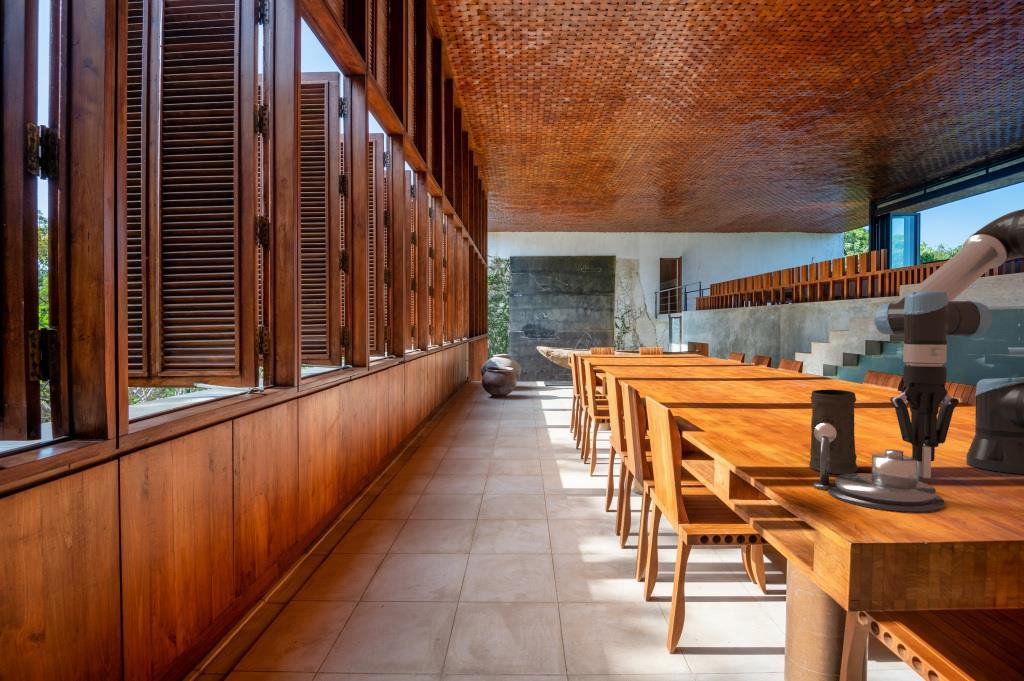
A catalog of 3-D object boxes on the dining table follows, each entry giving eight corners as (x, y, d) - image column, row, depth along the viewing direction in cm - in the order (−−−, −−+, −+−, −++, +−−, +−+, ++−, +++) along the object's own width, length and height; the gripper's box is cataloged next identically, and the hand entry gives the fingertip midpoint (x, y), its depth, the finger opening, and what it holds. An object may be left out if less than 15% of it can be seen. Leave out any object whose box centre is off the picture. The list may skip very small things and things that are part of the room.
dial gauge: (815, 484, 138) (816, 420, 137) (837, 487, 135) (838, 422, 135) (811, 488, 134) (812, 423, 134) (833, 491, 132) (834, 425, 131)
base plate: (904, 484, 137) (904, 481, 137) (970, 513, 116) (970, 509, 116) (810, 483, 138) (810, 480, 138) (859, 512, 117) (859, 508, 117)
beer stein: (856, 477, 144) (857, 394, 143) (806, 471, 149) (807, 391, 149) (858, 465, 157) (859, 388, 156) (813, 460, 163) (813, 386, 162)
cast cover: (902, 479, 131) (903, 447, 131) (925, 489, 123) (925, 455, 123) (864, 478, 131) (864, 446, 131) (884, 488, 123) (884, 454, 123)
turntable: (909, 511, 115) (909, 479, 115) (818, 489, 130) (818, 461, 130) (959, 494, 126) (960, 465, 126) (870, 476, 142) (871, 450, 141)
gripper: (903, 365, 123) (902, 480, 123) (969, 365, 122) (967, 481, 123) (882, 363, 130) (881, 471, 131) (944, 363, 130) (942, 472, 130)
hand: (923, 476), depth 127 cm, fingers closed
